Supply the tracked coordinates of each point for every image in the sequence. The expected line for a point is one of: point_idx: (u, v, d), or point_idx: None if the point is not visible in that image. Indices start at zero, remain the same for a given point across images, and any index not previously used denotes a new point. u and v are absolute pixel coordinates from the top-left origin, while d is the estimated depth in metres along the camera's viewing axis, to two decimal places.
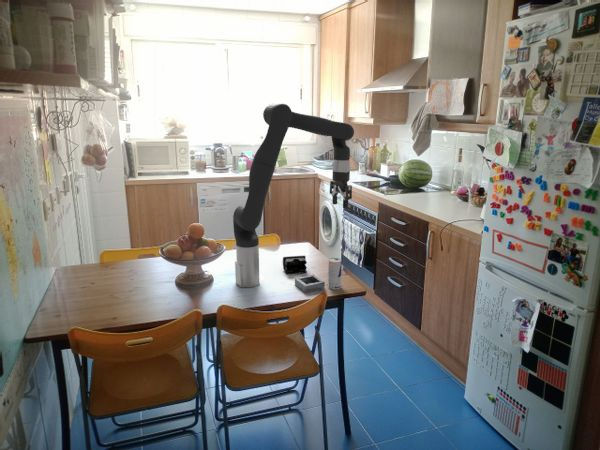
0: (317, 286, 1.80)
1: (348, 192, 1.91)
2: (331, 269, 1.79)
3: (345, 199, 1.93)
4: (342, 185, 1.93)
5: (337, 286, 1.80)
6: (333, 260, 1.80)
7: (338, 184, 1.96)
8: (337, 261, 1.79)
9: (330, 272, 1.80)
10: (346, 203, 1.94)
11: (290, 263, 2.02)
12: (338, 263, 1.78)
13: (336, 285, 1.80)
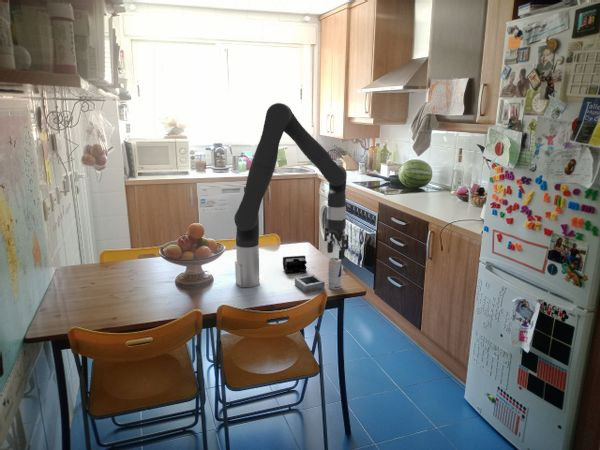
0: (317, 286, 1.80)
1: (344, 242, 1.71)
2: (331, 269, 1.79)
3: (341, 249, 1.74)
4: (337, 234, 1.74)
5: (337, 286, 1.80)
6: (333, 260, 1.80)
7: (333, 232, 1.77)
8: (337, 261, 1.79)
9: (330, 272, 1.80)
10: (342, 254, 1.74)
11: (290, 263, 2.02)
12: (338, 263, 1.78)
13: (336, 285, 1.80)
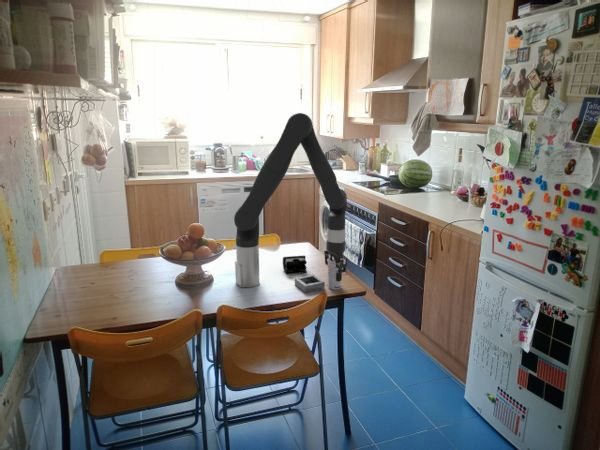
0: (317, 286, 1.80)
1: (342, 266, 1.75)
2: (331, 269, 1.79)
3: (338, 272, 1.77)
4: (337, 256, 1.76)
5: (337, 286, 1.80)
6: None
7: (332, 254, 1.79)
8: None
9: (330, 272, 1.80)
10: (339, 276, 1.78)
11: (290, 263, 2.02)
12: (338, 263, 1.78)
13: (336, 284, 1.80)
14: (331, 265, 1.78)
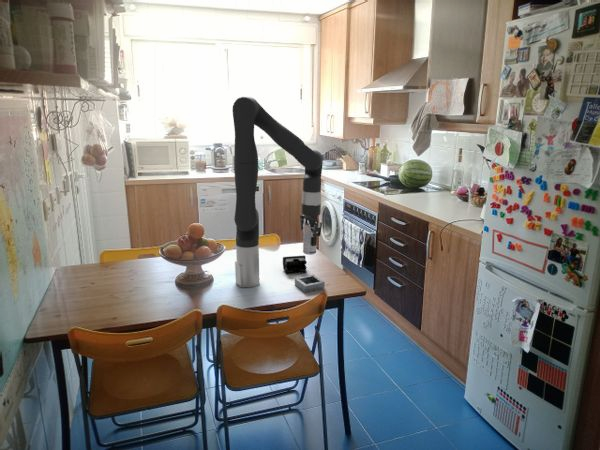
0: (317, 286, 1.80)
1: (317, 230, 1.71)
2: (306, 233, 1.75)
3: (313, 236, 1.74)
4: (312, 219, 1.72)
5: (312, 251, 1.77)
6: None
7: (308, 218, 1.75)
8: None
9: (305, 236, 1.76)
10: (314, 240, 1.74)
11: (290, 263, 2.02)
12: (313, 227, 1.74)
13: (311, 249, 1.76)
14: (306, 229, 1.75)
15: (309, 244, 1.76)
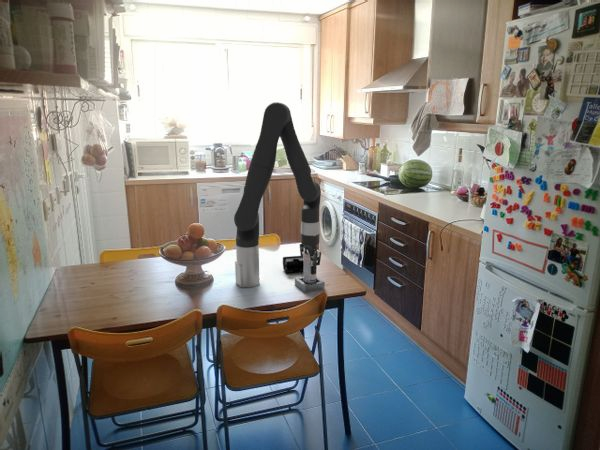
0: (317, 286, 1.80)
1: (316, 259, 1.74)
2: (306, 262, 1.78)
3: (313, 265, 1.77)
4: (311, 249, 1.76)
5: (312, 280, 1.80)
6: None
7: (307, 247, 1.78)
8: None
9: (305, 265, 1.79)
10: (314, 269, 1.78)
11: (290, 263, 2.02)
12: (313, 256, 1.77)
13: (311, 278, 1.80)
14: (306, 258, 1.78)
15: (309, 273, 1.79)
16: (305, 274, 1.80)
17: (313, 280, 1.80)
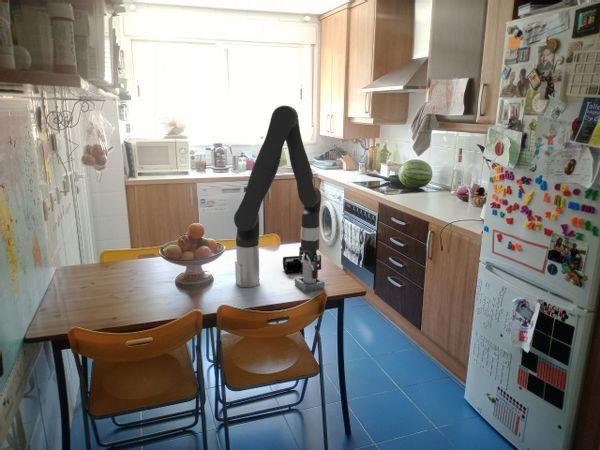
0: (317, 286, 1.80)
1: (317, 263, 1.74)
2: (305, 269, 1.79)
3: (314, 270, 1.76)
4: (311, 254, 1.76)
5: None
6: None
7: (307, 252, 1.79)
8: None
9: (304, 272, 1.80)
10: (315, 274, 1.77)
11: (290, 263, 2.02)
12: None
13: None
14: (305, 265, 1.79)
15: (309, 279, 1.80)
16: (304, 280, 1.81)
17: None
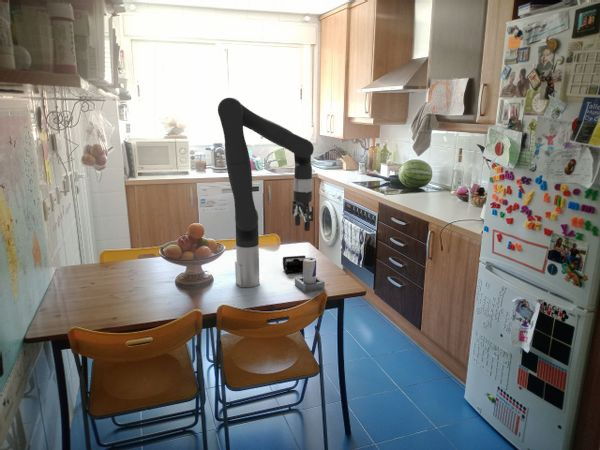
0: (317, 286, 1.80)
1: (309, 214, 1.75)
2: (305, 269, 1.79)
3: (306, 221, 1.77)
4: (303, 206, 1.78)
5: None
6: (307, 260, 1.80)
7: (300, 204, 1.80)
8: (311, 261, 1.79)
9: (304, 272, 1.80)
10: (307, 225, 1.78)
11: (290, 263, 2.02)
12: (312, 263, 1.78)
13: None
14: (305, 265, 1.79)
15: (309, 279, 1.80)
16: (304, 280, 1.81)
17: None
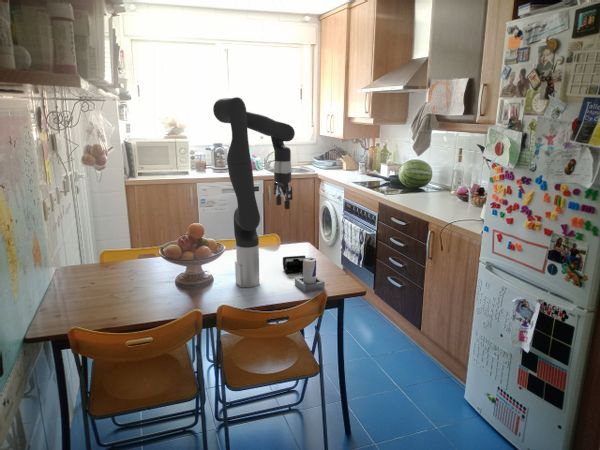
0: (317, 286, 1.80)
1: (288, 193, 1.91)
2: (305, 269, 1.79)
3: (286, 200, 1.93)
4: (283, 186, 1.94)
5: None
6: (307, 260, 1.80)
7: (280, 185, 1.96)
8: (311, 261, 1.79)
9: (304, 272, 1.80)
10: (287, 204, 1.94)
11: (290, 263, 2.02)
12: (312, 263, 1.78)
13: None
14: (305, 265, 1.79)
15: (309, 279, 1.80)
16: (304, 280, 1.81)
17: None
